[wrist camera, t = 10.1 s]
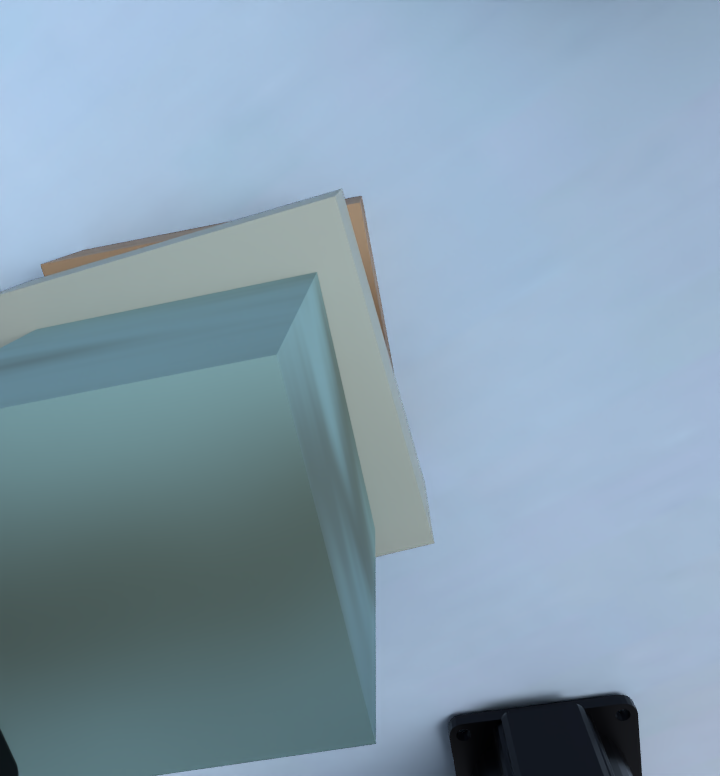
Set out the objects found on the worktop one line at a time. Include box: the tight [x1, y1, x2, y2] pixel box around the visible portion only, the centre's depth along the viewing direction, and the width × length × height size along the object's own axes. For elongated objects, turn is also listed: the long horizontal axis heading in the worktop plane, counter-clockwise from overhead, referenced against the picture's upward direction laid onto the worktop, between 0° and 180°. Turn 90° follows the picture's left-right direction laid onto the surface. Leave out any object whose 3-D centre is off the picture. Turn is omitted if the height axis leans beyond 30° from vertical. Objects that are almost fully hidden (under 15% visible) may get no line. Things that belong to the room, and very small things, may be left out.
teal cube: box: [0, 272, 376, 776], centre depth 12 cm, size 6×6×6 cm
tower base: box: [41, 196, 394, 372], centre depth 19 cm, size 8×8×3 cm
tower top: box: [0, 189, 434, 557], centre depth 16 cm, size 8×8×3 cm
